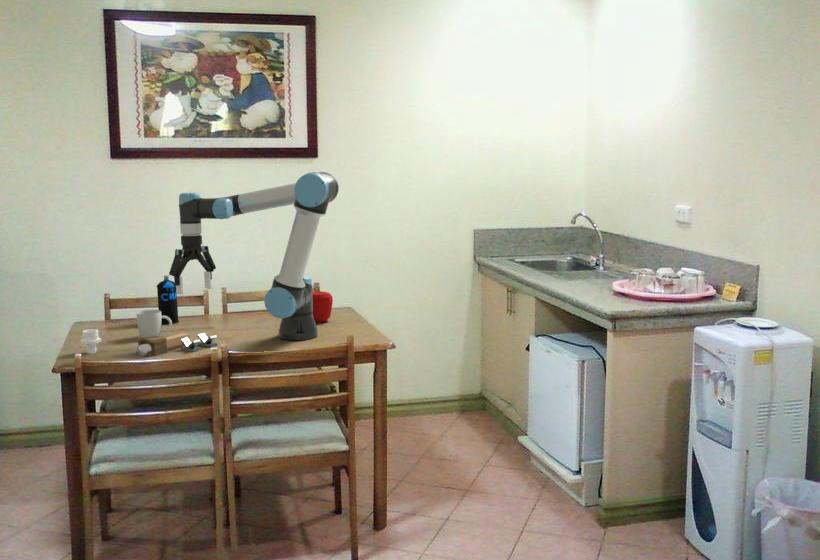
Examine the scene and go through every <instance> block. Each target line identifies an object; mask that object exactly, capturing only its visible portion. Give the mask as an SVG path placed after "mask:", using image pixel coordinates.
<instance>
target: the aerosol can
mask: <svg viewBox="0 0 820 560" xmlns="http://www.w3.org/2000/svg"><path fill="white" fill-rule="evenodd" d="M169 276H170V275H169V274H165V275H163V280H162V281H160V282H159V283H158V284H157V285H156V288H157V289H156V290H157V292H156V293H157V306H158V307H157V308H158V309H157V310H160V311H161V316H167V317H169V318H170V319H171V321H172V325H173V324H174V325H175V324H178V323H179V322H180V320H179V309H178V306H179V305H178V294H176V285H175V282H174V280H173V281H172V280H170V277H169ZM162 325H167V326H168V325H169V321H168V320H167V319H164V318H162Z"/></svg>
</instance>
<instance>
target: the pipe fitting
mask: <svg viewBox="0 0 820 560" xmlns="http://www.w3.org/2000/svg"><path fill="white" fill-rule="evenodd" d="M81 332H82V338H81V339H79V341H80V344H82V345H86V346H85V347H86V349H85V350H86V354H88V355H93V354H96V353H97V344H99V343H101V342H102V339H101V338H100V337H99V330H98V329H97V328H96V329H95V328H92V329H90V328H89V329H85V330H82V331H81Z"/></svg>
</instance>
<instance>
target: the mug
mask: <svg viewBox="0 0 820 560" xmlns="http://www.w3.org/2000/svg"><path fill="white" fill-rule="evenodd" d="M162 318H164V319H167V320H168V321H169V324H168V327H166V328H165V329H162V326H163V324H162ZM136 325H137V330H138V333H139V334H138V335H139V337H142V336H146V335H154V336H159V337H161V333H167V332H169V330H171V328H172V326H173V324H172V321H171V319H170V318H169V317H167V316H161V311H160V310H158V309H145V310H140V311H138V312H136Z"/></svg>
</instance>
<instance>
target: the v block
mask: <svg viewBox="0 0 820 560" xmlns="http://www.w3.org/2000/svg"><path fill="white" fill-rule="evenodd" d="M196 337H197V338H198V339H195V340H192V341H191V340H189V339H188V337H187V338H183V339H181V340H180V341H181V342H182V344H183V345H184V346H182V347H180V348H179V349H180V351H185V352H189V353H190V352H191V353H196V352H195V351H197V352H200V351H202V347H205V346H207V347H206V348H215V347H218V342H214V341H215V339H217V338H218V336H217V335H216V334H215V335H211V336H207V334H206V333H205V332H203V333H199V334H197V335H196ZM200 345H202V346H201V347H200ZM214 346H215V347H214ZM199 350H200V351H199Z"/></svg>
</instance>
